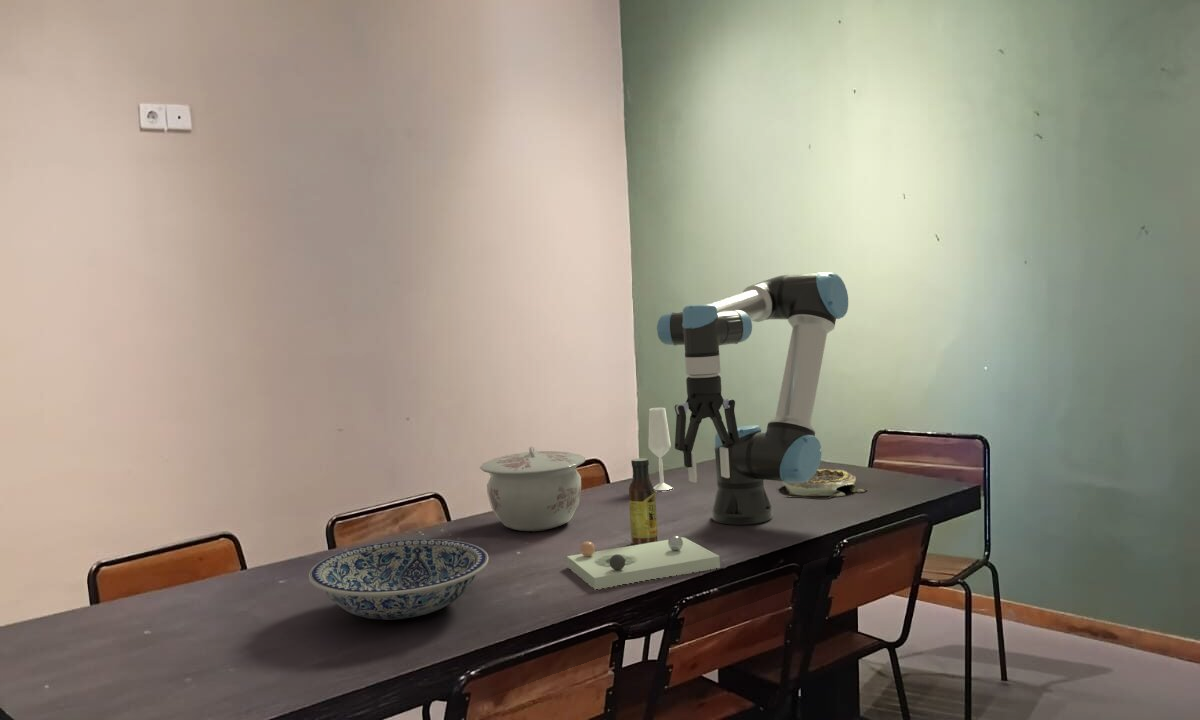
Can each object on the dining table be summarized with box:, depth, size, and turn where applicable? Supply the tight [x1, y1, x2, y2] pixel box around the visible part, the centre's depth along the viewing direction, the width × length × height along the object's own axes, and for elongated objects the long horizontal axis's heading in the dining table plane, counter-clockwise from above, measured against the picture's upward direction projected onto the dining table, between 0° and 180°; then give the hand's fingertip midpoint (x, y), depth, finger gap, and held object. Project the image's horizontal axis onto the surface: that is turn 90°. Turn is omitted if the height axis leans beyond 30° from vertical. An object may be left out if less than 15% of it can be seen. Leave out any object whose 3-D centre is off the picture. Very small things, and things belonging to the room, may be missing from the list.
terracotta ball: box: [580, 540, 596, 556], centre depth 207 cm, size 3×3×3 cm
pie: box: [781, 468, 870, 500], centre depth 270 cm, size 28×27×5 cm
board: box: [566, 536, 721, 591], centre depth 204 cm, size 28×18×2 cm, turn 110°
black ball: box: [610, 554, 625, 570], centre depth 195 cm, size 3×3×3 cm
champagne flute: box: [647, 407, 673, 490], centre depth 281 cm, size 7×7×24 cm
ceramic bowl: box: [308, 538, 489, 621], centre depth 186 cm, size 34×34×10 cm
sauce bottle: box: [628, 457, 658, 545], centre depth 223 cm, size 7×6×20 cm
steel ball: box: [668, 535, 683, 551], centre depth 207 cm, size 3×3×3 cm
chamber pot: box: [479, 446, 586, 532], centre depth 248 cm, size 28×28×21 cm
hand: (709, 479), depth 209 cm, fingers open, 7 cm apart
